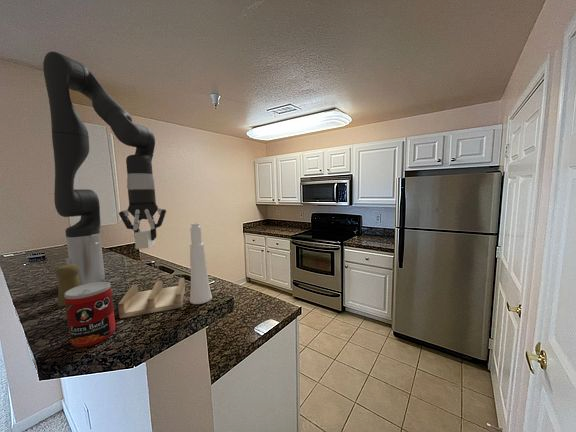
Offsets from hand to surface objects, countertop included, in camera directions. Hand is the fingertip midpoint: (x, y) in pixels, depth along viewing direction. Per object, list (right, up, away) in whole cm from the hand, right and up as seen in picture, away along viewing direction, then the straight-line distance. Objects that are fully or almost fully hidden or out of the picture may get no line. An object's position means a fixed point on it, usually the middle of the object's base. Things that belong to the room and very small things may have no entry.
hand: (146, 240), depth 81 cm
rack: (+10, -16, -11) cm, 22 cm away
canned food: (+5, -18, -28) cm, 34 cm away
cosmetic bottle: (+22, -16, -11) cm, 29 cm away
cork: (-17, -17, -9) cm, 26 cm away
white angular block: (0, -2, 0) cm, 2 cm away
